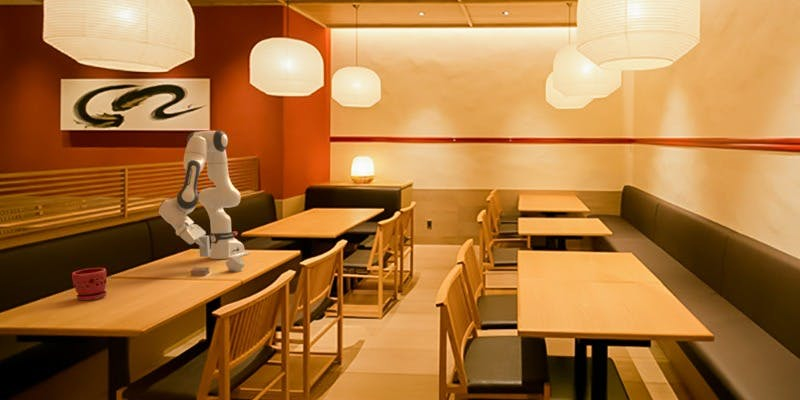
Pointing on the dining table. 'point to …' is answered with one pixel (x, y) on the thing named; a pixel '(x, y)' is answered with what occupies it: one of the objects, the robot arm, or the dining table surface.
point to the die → (235, 263)
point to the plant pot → (90, 283)
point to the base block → (200, 271)
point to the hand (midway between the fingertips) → (205, 245)
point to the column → (206, 249)
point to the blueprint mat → (200, 276)
